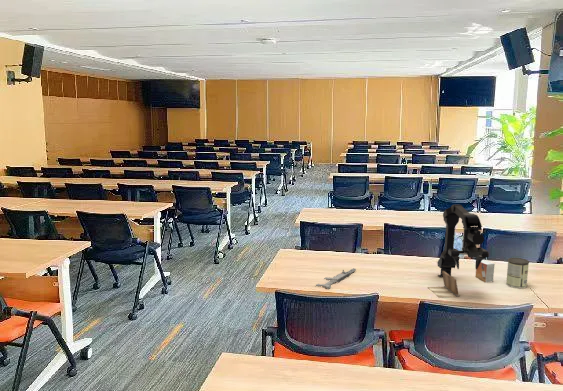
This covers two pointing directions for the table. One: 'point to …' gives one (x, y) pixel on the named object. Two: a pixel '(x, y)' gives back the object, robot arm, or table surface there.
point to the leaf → (450, 283)
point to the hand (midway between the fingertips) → (467, 269)
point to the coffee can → (517, 272)
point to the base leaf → (442, 292)
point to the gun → (336, 278)
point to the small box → (485, 271)
